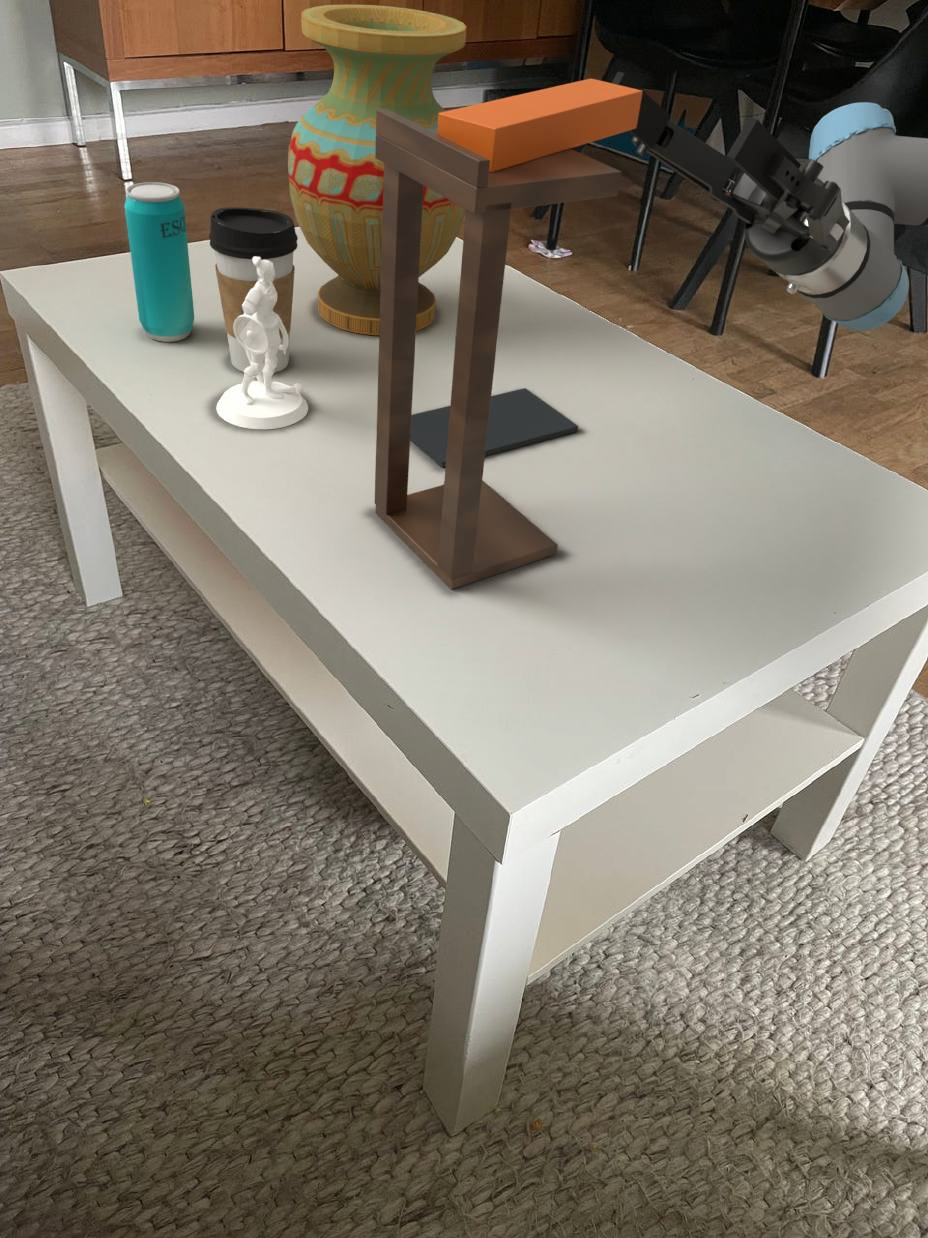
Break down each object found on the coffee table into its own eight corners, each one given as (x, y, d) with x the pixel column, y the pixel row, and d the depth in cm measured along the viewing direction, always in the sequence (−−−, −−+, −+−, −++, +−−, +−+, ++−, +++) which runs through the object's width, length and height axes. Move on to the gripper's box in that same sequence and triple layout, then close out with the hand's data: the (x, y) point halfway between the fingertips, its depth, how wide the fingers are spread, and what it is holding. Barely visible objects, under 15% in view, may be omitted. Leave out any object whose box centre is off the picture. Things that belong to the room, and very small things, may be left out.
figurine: (266, 438, 93) (259, 280, 84) (196, 408, 97) (181, 253, 87) (326, 405, 99) (325, 253, 90) (258, 378, 103) (251, 229, 93)
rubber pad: (524, 392, 105) (525, 387, 105) (577, 431, 100) (578, 425, 99) (392, 424, 98) (392, 418, 97) (441, 467, 92) (442, 462, 92)
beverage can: (207, 332, 110) (194, 189, 101) (169, 349, 106) (153, 202, 97) (167, 317, 112) (151, 177, 103) (129, 334, 108) (109, 189, 99)
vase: (495, 319, 119) (524, 31, 100) (371, 363, 108) (378, 45, 89) (381, 268, 129) (388, -4, 110) (256, 303, 117) (241, 6, 98)
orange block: (585, 115, 75) (590, 77, 73) (636, 128, 73) (643, 90, 71) (435, 155, 63) (437, 112, 62) (491, 172, 61) (495, 128, 60)
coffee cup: (214, 347, 108) (202, 202, 98) (293, 342, 110) (289, 201, 100) (224, 382, 101) (212, 232, 92) (307, 377, 104) (304, 229, 94)
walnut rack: (476, 484, 90) (515, 99, 70) (556, 554, 83) (626, 146, 63) (366, 515, 85) (375, 108, 65) (442, 593, 78) (479, 160, 58)
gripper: (895, 329, 80) (771, 217, 65) (681, 228, 95) (541, 119, 80) (955, 241, 78) (842, 103, 62) (726, 152, 93) (590, 24, 78)
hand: (672, 111), depth 71 cm, fingers open, 13 cm apart
